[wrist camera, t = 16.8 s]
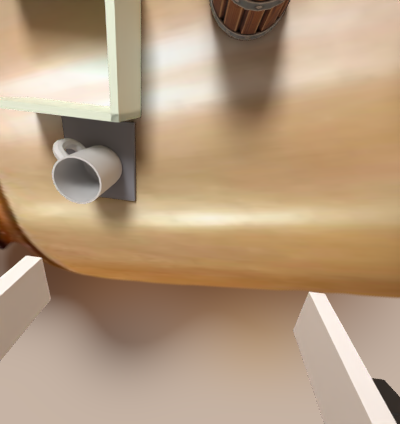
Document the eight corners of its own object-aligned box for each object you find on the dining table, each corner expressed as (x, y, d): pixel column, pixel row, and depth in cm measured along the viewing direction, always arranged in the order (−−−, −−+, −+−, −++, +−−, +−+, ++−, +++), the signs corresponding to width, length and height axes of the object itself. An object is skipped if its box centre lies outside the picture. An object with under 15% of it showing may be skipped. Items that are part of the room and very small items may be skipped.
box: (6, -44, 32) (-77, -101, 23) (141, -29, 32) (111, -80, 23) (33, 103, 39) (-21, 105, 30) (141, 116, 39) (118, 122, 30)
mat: (64, 113, 40) (61, 114, 39) (135, 122, 40) (133, 123, 39) (74, 191, 46) (71, 193, 45) (135, 199, 46) (134, 201, 45)
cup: (104, 191, 45) (79, 212, 37) (62, 148, 42) (25, 160, 34) (131, 169, 42) (111, 186, 34) (89, 121, 39) (57, 127, 31)
